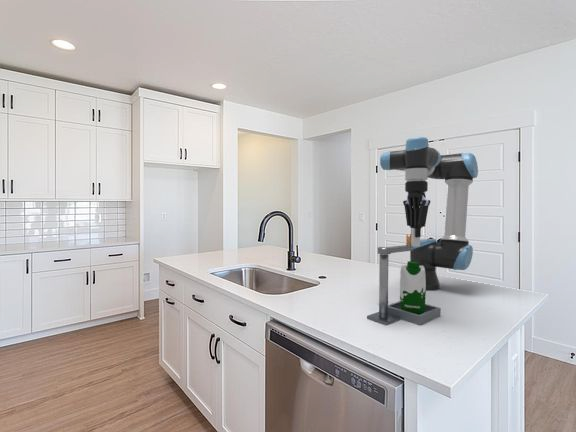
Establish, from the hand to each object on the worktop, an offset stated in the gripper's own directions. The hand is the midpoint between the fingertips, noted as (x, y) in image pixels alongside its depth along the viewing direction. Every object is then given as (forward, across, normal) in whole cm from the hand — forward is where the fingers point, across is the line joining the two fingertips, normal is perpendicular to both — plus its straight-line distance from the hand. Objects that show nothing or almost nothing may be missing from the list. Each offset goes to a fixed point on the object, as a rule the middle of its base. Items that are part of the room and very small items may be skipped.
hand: (415, 246), depth 117 cm
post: (+26, -1, +13) cm, 29 cm away
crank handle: (+2, +1, +7) cm, 8 cm away
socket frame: (+26, +1, 0) cm, 26 cm away
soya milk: (+26, +1, 0) cm, 26 cm away
